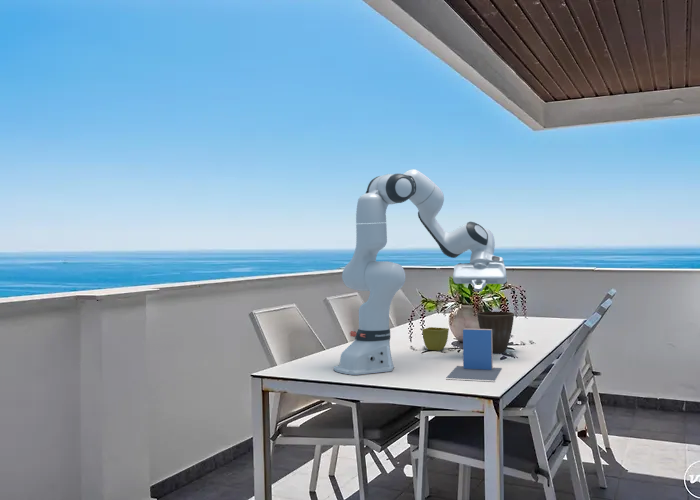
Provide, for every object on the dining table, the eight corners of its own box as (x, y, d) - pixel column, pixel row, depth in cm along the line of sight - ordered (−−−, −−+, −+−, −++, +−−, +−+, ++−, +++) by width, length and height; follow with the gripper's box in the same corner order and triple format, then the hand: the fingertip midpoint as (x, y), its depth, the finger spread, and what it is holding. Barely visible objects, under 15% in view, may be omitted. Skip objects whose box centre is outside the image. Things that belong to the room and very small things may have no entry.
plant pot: (497, 356, 258) (497, 316, 258) (470, 351, 270) (469, 313, 270) (522, 352, 267) (521, 313, 267) (494, 347, 279) (493, 310, 279)
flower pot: (449, 349, 278) (449, 328, 278) (441, 352, 270) (441, 330, 270) (430, 347, 282) (430, 327, 282) (422, 350, 275) (421, 329, 274)
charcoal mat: (495, 382, 210) (495, 380, 210) (445, 379, 215) (445, 377, 215) (502, 369, 231) (502, 367, 231) (457, 367, 236) (457, 365, 236)
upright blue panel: (491, 370, 227) (491, 330, 227) (463, 368, 230) (462, 329, 230) (492, 368, 229) (492, 329, 229) (464, 367, 233) (463, 328, 233)
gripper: (453, 258, 254) (449, 284, 245) (507, 257, 248) (504, 284, 239) (455, 269, 259) (451, 295, 250) (508, 268, 252) (506, 296, 243)
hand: (478, 290), depth 244 cm, fingers closed
